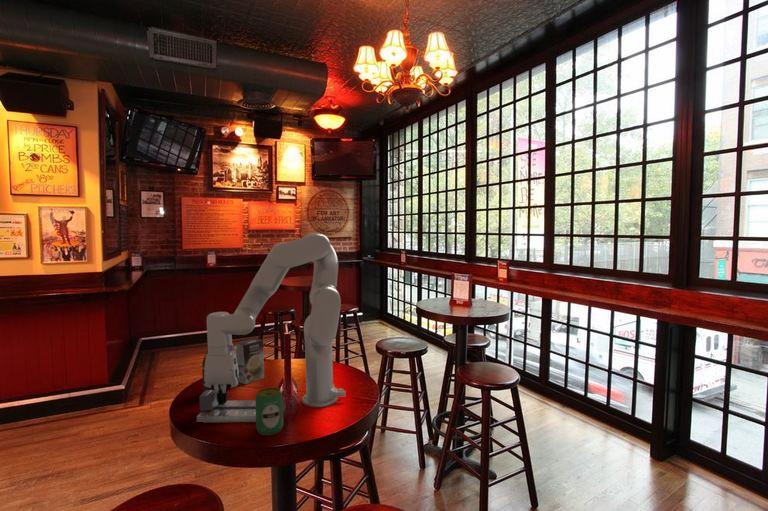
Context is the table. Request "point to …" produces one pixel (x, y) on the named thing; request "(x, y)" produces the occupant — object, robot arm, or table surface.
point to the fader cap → (208, 400)
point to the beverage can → (269, 411)
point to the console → (230, 412)
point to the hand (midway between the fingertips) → (222, 403)
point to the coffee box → (250, 360)
